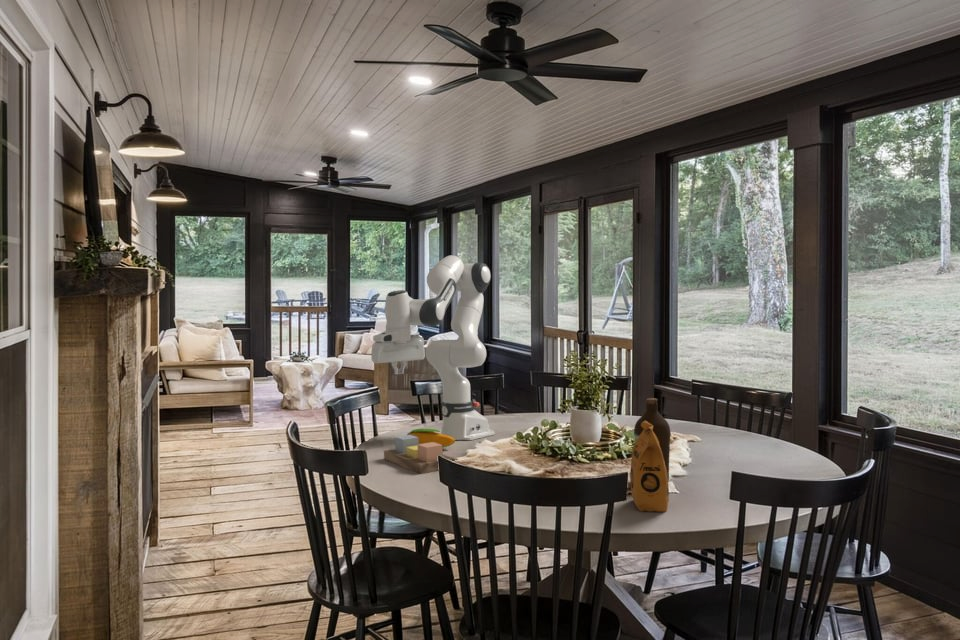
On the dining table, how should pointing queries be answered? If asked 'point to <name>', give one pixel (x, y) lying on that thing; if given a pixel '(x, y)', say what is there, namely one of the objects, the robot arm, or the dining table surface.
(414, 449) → the pad mustard
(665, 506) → the coffee package
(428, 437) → the corn
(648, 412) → the olive oil
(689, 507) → the dining table surface
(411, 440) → the pad slate
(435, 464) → the button board
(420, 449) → the pad terracotta
